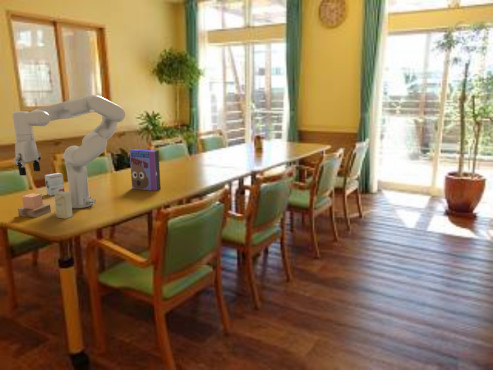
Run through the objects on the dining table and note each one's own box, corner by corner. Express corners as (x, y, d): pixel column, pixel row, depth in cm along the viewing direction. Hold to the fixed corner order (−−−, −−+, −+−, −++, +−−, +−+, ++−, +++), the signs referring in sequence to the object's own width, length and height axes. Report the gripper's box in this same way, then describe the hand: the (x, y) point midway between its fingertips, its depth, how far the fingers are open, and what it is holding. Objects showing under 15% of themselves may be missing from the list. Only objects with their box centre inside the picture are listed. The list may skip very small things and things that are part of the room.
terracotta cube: (42, 205, 202) (41, 194, 200) (34, 209, 196) (32, 197, 195) (32, 204, 203) (30, 193, 202) (23, 208, 197) (22, 196, 196)
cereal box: (132, 188, 250) (129, 150, 245) (136, 186, 254) (134, 148, 249) (156, 191, 244) (153, 151, 238) (160, 189, 248) (158, 150, 243)
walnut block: (50, 212, 204) (50, 204, 203) (35, 218, 195) (34, 210, 194) (34, 210, 207) (33, 203, 206) (19, 216, 198) (17, 208, 197)
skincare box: (56, 217, 195) (53, 193, 192) (63, 214, 199) (60, 190, 196) (66, 218, 193) (63, 194, 190) (73, 216, 197) (70, 192, 194)
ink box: (60, 191, 244) (58, 172, 241) (65, 192, 241) (62, 173, 238) (46, 194, 237) (44, 174, 235) (50, 195, 234) (48, 175, 232)
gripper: (30, 135, 201) (35, 169, 205) (4, 140, 185) (10, 176, 189) (44, 135, 200) (48, 169, 204) (18, 140, 183) (24, 177, 188)
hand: (30, 173), depth 196 cm, fingers open, 9 cm apart
